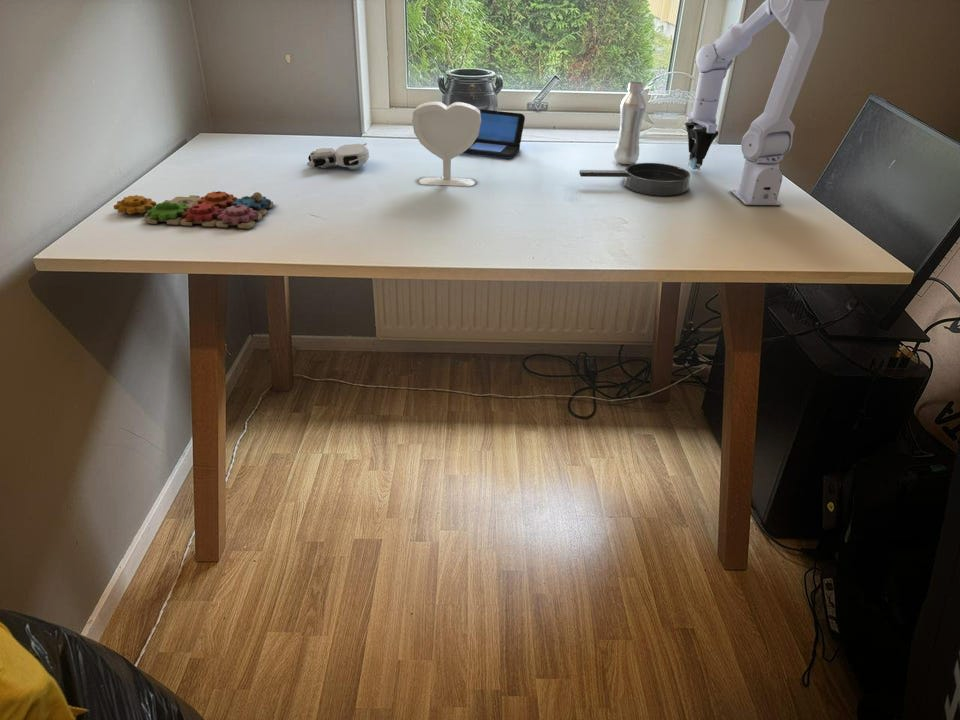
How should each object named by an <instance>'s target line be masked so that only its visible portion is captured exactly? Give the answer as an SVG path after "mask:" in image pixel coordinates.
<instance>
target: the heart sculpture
mask: <svg viewBox="0 0 960 720" xmlns="http://www.w3.org/2000/svg"><path fill="white" fill-rule="evenodd" d="M479 109H480V108H478V107H476V106H474V105H473V104H470V103H466V102H462V101H455V102H453V103H451V104H449V105H446V104H445V103H443V102H441V101H438V100H435V101H434V100H433V101H428V102H424V103H421V104H419V105H417V106H416V107H415V108H414V110H413V112H412V120H411V124H412V128H413V133H414V136H415V137H416V138H417V141H419V143H420V145H422V146H423V147H424V149H426V150H427V151H428V152H429V153H431V154H433V155H435V156H436V157H437V158H439V159H440V160H441V161H442V177H423V178H421V179H419V180H418V183H419V184H421V185H427V186H429V185H430V186H456V187H472V186H474V185H475V184H476V182H475V181H474V179H470V178H459V177H452V161H451V160H453V159H454V158H457V157H458V156H461V155H462V154H464V153H463V152H464V151H466V150H467V149H468V148H469V147H471V146H472V144H473V143H474V141H475V140H476V138H477V137H478V135H479V130H480V124H481V115H480V110H479Z"/></svg>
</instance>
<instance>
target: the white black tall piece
mask: <svg viewBox="0 0 960 720" xmlns="http://www.w3.org/2000/svg"><path fill="white" fill-rule="evenodd" d="M694 129H702V126H700V125H695V126H694V128H692V129H690V137H692V139H694V140H695V143H694V147H693V149H692V151H691V152H690V153H689V157H688V161H687V166H688V167H690V168H691V169H692V170H697V171H701V167H702V166H703V162H704V159H696V158H695V150H696V138H695V133H694Z"/></svg>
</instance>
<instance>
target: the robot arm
mask: <svg viewBox="0 0 960 720" xmlns="http://www.w3.org/2000/svg"><path fill="white" fill-rule="evenodd" d="M830 2H831V0H764V1H763V2H762V3H761V4H760V5H759V7H757V8H756V9H755V11H753V13H751V14H750V16H749V17H748V18H747V19H746V20H745V21H744V22H743V23H741V22H738V23H731V24H730V25H729V26H728V27H727V30H726V31H725V32H724V33H723V34H721V35H720V36H719V37H717V38H716V39H715V40H714V42H713V43H711V44H703V45H702V46H701V47H700V49H699V50H698V52H697V54H696V59H695V63H696V67H697V69H698V70H699V72H698V78H697V84H696V90H695V95H694V101H693V106H692V110H690V113H689V116H686V121H687V122H685V124H684V125H685V128H686V132H687V140H688V141H687V142H688V143H687V144H688V153H689V154H690V152H691V151H692V149H693V147H694V143H695V140H694V139H692V137H690V129H692V128H694V126H695V125H700V126H702V129H694V133H695V138H696V150H695V158H696V159H703V160H704V159H705V158H706V156H707V154H708V152H709V150H710V148H711V145H712V144H713V142H714V141H715V139H716V138H717V137H718V136H719V131H717V128H718V124H717V113H718V109H719V103H720V98H721V93H722V88H723V83H724V79H725V78H726V77H727V73H728V71H729V69H730V68H731V66H732V65H733V62H734V59H735V58H736V57H738V55H740V54H741V53H742V52H743V51H744V50H746V49H747V48H748V47H749V46H750V45H751V44H752V41H753V36H755V35H756V34H757V33H759V32H760V31H761V30H763V29H764V28H765V27H767V26H768V25H770V24H771V23H772V22H774V21H775V20H776V19H777V20H778V22H779V23H780V24H781V26H782V27H783V28H784V29H785V30H786V31H787V32H788V35H789V39H788V43H787V46H786V48H785V51H784V54H783V57H782V60H781V62H780V64H779V67H778V70H777V73H776V75H775V79H774V82H773V84H772V87H771V90H770V93H769V95H768V99H767V100H766V103H765V107H764V110H763V111H762V113H761V114H760V115H759V116H758V117H757V118H755V119H754V120H753V121H752V122H751V123H750V126H749V128H748V130H747V131H746V132H745V133H744V135H743V136H742V139H741V141H740V142H741V144H740V147H741V148H740V149H741V153H742V155H743V159H745V161H744V165H743V170H742V173H741V178H740V183H739V186H738V189H732V190H731V193H732V194H733V195H734V196H735V197H736V198H738V199H739V200H740V201H741V202H742V203H743V204H744V205H746V206H780V205H781V203H780V201H778V198H779V194H780V190H781V186H782V182H783V173H782V171H781V169H780V162H781V161H783V159H784V156H786V155H787V154H788V153H789V152H790V150H791V149H792V146H793V136H794V131H795V129H796V126H795V124H794V123H793V122H792V120H791V119H790V118H791V115H792V113H793V110H794V106H795V105H796V103H797V100H798V97H799V94H800V91H801V89H802V87H803V84H804V81H805V78H806V76H807V73H808V71H809V68H810V66H811V63H812V60H813V58H814V55H815V53H816V50H817V48H818V46H819V42H820V40H821V37H822V34H823V30H824V20H825V14H826V11H827V9H828V7H829V3H830Z"/></svg>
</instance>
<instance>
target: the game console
mask: <svg viewBox="0 0 960 720" xmlns="http://www.w3.org/2000/svg"><path fill="white" fill-rule="evenodd" d="M478 109H479V110H480V115H481V124H480V130H479V135H478V137H477V138H476V140H475V141H474V143H473V144H472V146H471V147H469V148H468V149H467V150H466V151H464V152H463V153H462V154H465V155H473V156H481V157H489V158H490V157H491V158H496V159H497V158H498V159H506V160H508V159H509V160H510V159H512V158H514V156H515V155H517V154H518V152H520V151H521V143H522V142H521V141H522V138H523V131H524V126H525V122H526V121H525V119H526V117H525V115H524V114H523V113H519V112H510V111H502V110H501V111H500V110H490V109H482V108H478Z"/></svg>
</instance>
